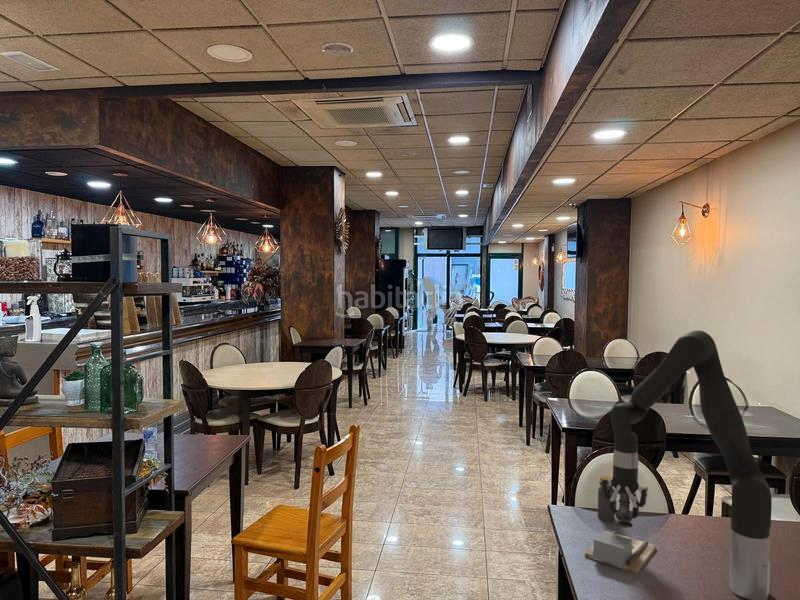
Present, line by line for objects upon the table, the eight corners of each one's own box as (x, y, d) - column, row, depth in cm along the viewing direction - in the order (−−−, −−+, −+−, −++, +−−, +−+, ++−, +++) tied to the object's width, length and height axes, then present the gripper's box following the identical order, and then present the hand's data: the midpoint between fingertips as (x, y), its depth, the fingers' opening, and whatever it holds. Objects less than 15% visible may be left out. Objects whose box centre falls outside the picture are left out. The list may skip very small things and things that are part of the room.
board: (655, 549, 179) (656, 542, 179) (637, 573, 164) (637, 566, 164) (606, 534, 190) (606, 528, 189) (584, 556, 174) (584, 549, 174)
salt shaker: (635, 528, 175) (636, 491, 175) (616, 527, 176) (617, 490, 176) (631, 521, 181) (632, 485, 181) (612, 519, 182) (613, 483, 182)
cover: (631, 557, 171) (631, 539, 171) (623, 567, 165) (623, 548, 164) (602, 548, 176) (602, 530, 176) (593, 557, 170) (593, 539, 170)
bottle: (600, 512, 208) (601, 473, 207) (616, 517, 204) (617, 477, 204) (595, 517, 203) (596, 477, 203) (611, 522, 199) (612, 481, 199)
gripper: (599, 461, 180) (598, 512, 180) (645, 471, 171) (644, 525, 171) (607, 456, 186) (605, 505, 186) (652, 465, 176) (650, 517, 177)
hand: (624, 514), depth 179 cm, fingers closed on salt shaker, 6 cm apart
